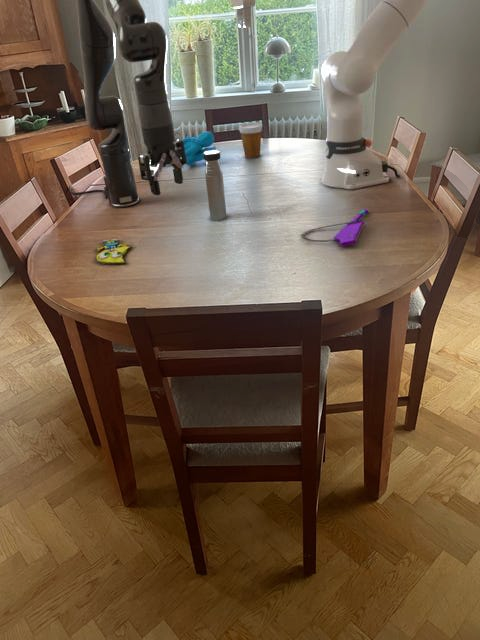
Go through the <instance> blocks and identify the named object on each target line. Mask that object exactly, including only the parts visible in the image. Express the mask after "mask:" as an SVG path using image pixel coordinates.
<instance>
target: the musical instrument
mask: <svg viewBox="0 0 480 640" xmlns="http://www.w3.org/2000/svg"><path fill="white" fill-rule="evenodd" d="M367 214H369V210H368V209H367V208H364V209H362V210H361V211H359V212H358V214H357V215H356V216H355V217H353V219H352V220H350V221H347V222H342V223H337V224H330V225H325V226H320V227H316V228H312V229H310V230H307V231H305V232H304V233H302V234H301V238H302V239H304V240H305V241H309V242H313V243H314V242H316V243H328V242H336V243H339V244H340V246H341V247H342V248H343V247H347V246H348V247H349V246H354V245H355V244H356V242H357V240H358V238H359V236H360V235H361V234H360V233H361V232H362V229H363V227H364V224H365V220H362V219H361V218H363V217H364V216H365V215H367ZM340 225H345V226H344V227H343V228H342V229H340V231H338V233H336V235H334V236H333V239H311V238H308V237H306V235H307V234H308V233H311V232H314V231H316V230H320V229H324V228H330V227H336V226H340Z"/></svg>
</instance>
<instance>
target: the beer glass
mask: <svg viewBox="0 0 480 640" xmlns="http://www.w3.org/2000/svg"><path fill="white" fill-rule="evenodd" d="M262 131H263V126H262V124H261V123H245V124H241V125H240V126H239V133H240V137H241V142H242V147H243V152H244V157H245V158H248V159H249V158H251V159H252V158H253V159H254V158H258V157H260V156H261V144H262Z"/></svg>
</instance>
